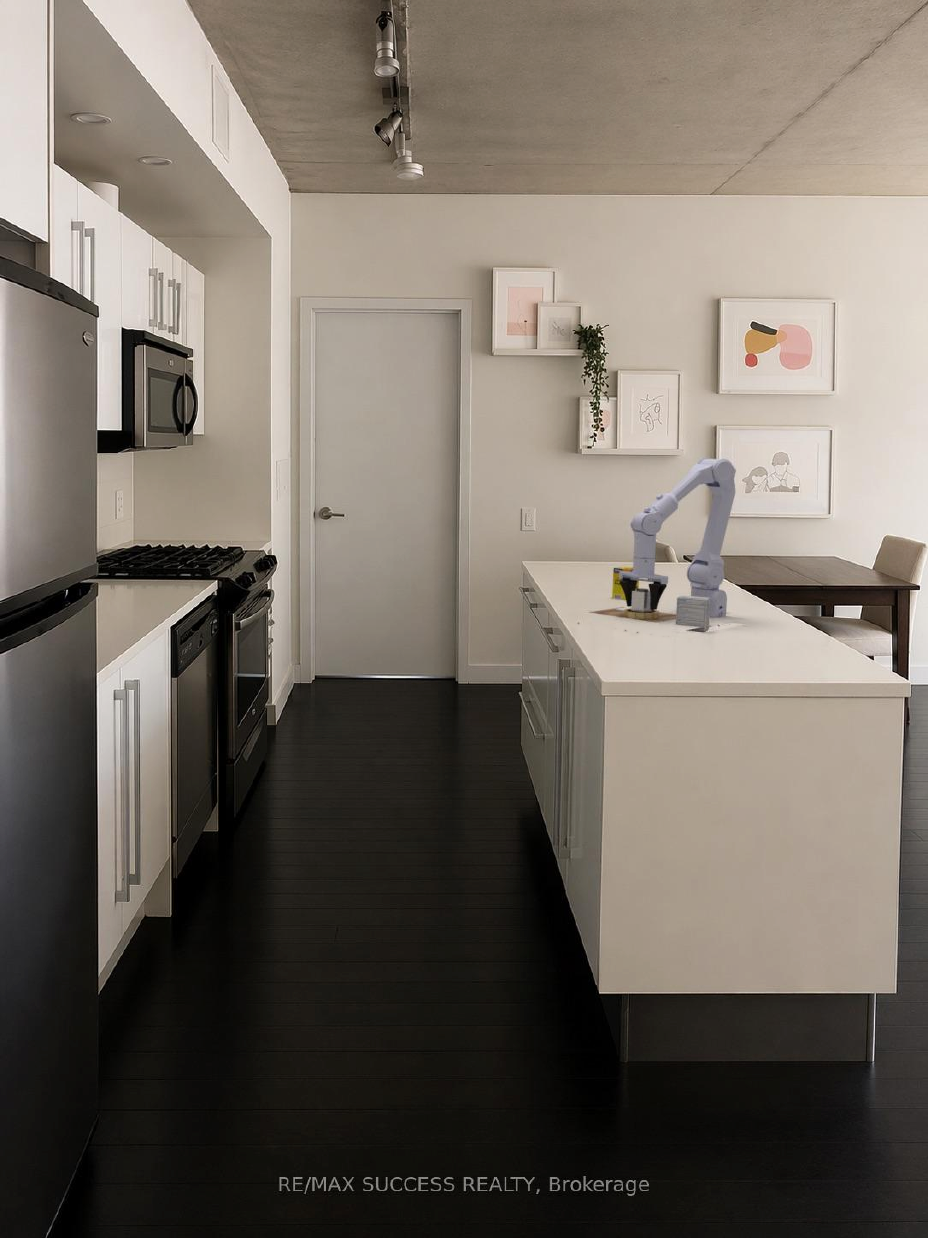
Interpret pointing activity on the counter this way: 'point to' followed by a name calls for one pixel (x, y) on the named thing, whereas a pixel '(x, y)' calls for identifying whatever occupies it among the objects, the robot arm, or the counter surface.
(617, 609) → the grey pad
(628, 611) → the brass eye
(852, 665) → the counter surface
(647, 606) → the steel post
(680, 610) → the medicine box
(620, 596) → the supplement box
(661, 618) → the walnut board
